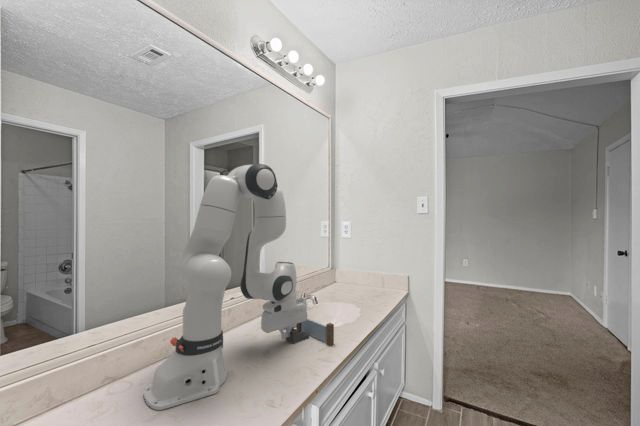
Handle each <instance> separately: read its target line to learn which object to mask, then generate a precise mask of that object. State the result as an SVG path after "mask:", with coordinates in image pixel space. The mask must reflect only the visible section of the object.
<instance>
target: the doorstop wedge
mask: <svg viewBox="0 0 640 426" xmlns="http://www.w3.org/2000/svg"><path fill="white" fill-rule="evenodd" d="M286 330H287V329H286V328H285V331H286ZM308 339H310V335H309V334H307V333H305V332H303V331H299V330H297V328H294V327H293V328H292V330H291V332H290V337H288V338H285V340H286V341H287V342H289V343H291V344H293V345H295V344H297V343H300V342H303V341H305V340H308Z"/></svg>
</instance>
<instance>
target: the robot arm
mask: <svg viewBox="0 0 640 426" xmlns="http://www.w3.org/2000/svg"><path fill="white" fill-rule="evenodd" d="M242 198H251V200H252V201H253V205H254V209H255V210H254V211H255V212H254V216H255V217H254V224H253V225H254V226H253V228H252V230H251V231H250V232H249V233H248V236H247V238H246V239H247V240H246V245H245V246H246V247H245V255H244V262H243V263H244V265H243V272H242V277H241V280H240V285H239V286H240V292H241V293H242V295H243V296H244V298H245V299H248V300H264V301H267V302H265V303H264V304H262V310H263V311H262V314H261V323H260V325H261V326H260V327H261V328H260V329H261V330H262V331H263V332H264V333H265V334H269V333H274V332H276V331H279V332H280V335H281V336H280V337H281V339H282V340H286V338H288V337H290V332H291V330H292V325H295V324H298V323H301V322H304V321H306V320H307V319H308V309H307V301H306V299H305V298H303V297H302V298H299V299H297V290H296V289H297V288H296V287H297V269H296V266H295V263H293V262H289V261H277V262H275V265H274V270H272V272H271V273H267V272H261V271H260V270H259V267H260V266H259V265H260V257H261V251H262V248H263V247H264V246H265V245H267V244H268V243H271V242H274V241H276V240H278V239H280V238H281V236H282V235H283V234H284V233H285V231H286V228H287V213H286V211H287V210H286V209H287V208H286V203H285V198H284V193H283V191H282V189H281V188H280V187H278V181H277V176H276V174H275V172H274V170H273V169H272V168H271V167H270V166H269V165H268V164H267V165H266V164H263V163H254V164H244V165H243V164H242V165H241V166H237V167H233V168H231V169H230V170H229V171H227V173H226V174H225V175H223V174H220V175H215V176H212V178H210V180H209V181H208V184H207V185H206V188H205V190H204V192H203V195H202V198H201V201H200V205H199V208H198V212H197V215H196V219H195V223H194V227H193V229H192V232H191V234H190V237H189V239H188V241H187V243H186V245H185V248H184V250H183V253H182V255H181V257H180V258H179V259H178V262H177V265H176V270H177V274H178V276H179V279H180V280H181V281H182V282H184V284H185V283H186V285H187V295H186V301H185V306H184V307H183V310H182V336H181V337H180V338H179V339H178V338H177V337H172V338H171V339H170V344H171V345H172V346H173V347H175V350H174V352H173V353H172V354H171V355H169V356H168V357H167V358H166V359H165V360H164V361H163V362H162V363H161V364H160V365H158V367H156V369H155V371H154V375H153V380H152V382H151V383H148V384H147V385H146V386H145V388H144V391H143V399H145V400H144V401H146V402H145V404H147V406H148V407H149V406H150V408H151V409H153V410H156V411H162V410H163V411H164V410H166V409H169V408H172V407H175V406H176V407H177V406H179V405H182V404H186V403H189V402H192V401H196V400H200V399H202V398H205V397H209V396H212V395H215V394H217V393H219V391H220V387H221V386H222V385H223V384H224V383H225V382H226V380H227V378H228V374H227V369H226V366H225V361H224V355H223V348H224V332H223V330H222V321H223V320H222V316H223V315H222V312H223V311H222V310H223V309H222V308H223V301H224V297H225V292H226V288H227V287H228V285H229V284H230V282H231V279H232V269H231V267H230V265H229V264H228V262H226V261H225V260H224V258H222V257H221V256H220V255H221V252H222V250H223V248H224V246H225V244H226V243H227V241H228V240H229V239H230V237H231V235H232V230H233V227H234V222H235V218H236V214H237V210H238V204H239V202H240V200H241V199H242ZM286 327H287V330H286Z"/></svg>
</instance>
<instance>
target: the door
mask: <svg viewBox="0 0 640 426" xmlns="http://www.w3.org/2000/svg"><path fill="white" fill-rule="evenodd" d="M301 331H303V332H305V333H307V334H309V336H311V337H313V338H315V339H318V340H320V341H322V342H325V343H326V325H324V324H322V323H321V322H317V321H315V320H312V319H309V318H307V320H306V321H304V322H301Z"/></svg>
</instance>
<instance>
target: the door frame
mask: <svg viewBox="0 0 640 426" xmlns="http://www.w3.org/2000/svg"><path fill="white" fill-rule="evenodd" d="M325 326H326V342H325V344H326V346H329V347H333V346H335V343H334V341H335V340H334V339H335V335H334V334H335V333H334V332H335V331H334V330H335V327H334V323H332V322H329V323H326V325H325ZM296 329H297V330H299V331H301V323H298V324H297V327H296Z"/></svg>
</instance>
